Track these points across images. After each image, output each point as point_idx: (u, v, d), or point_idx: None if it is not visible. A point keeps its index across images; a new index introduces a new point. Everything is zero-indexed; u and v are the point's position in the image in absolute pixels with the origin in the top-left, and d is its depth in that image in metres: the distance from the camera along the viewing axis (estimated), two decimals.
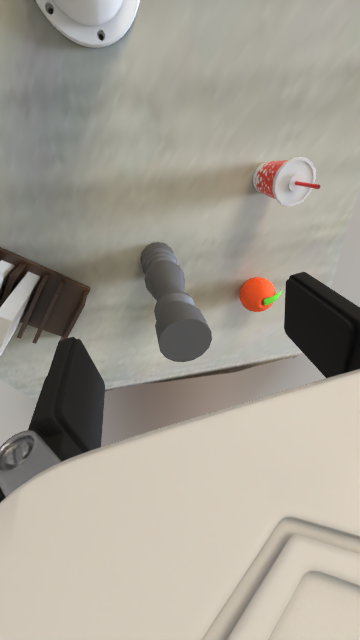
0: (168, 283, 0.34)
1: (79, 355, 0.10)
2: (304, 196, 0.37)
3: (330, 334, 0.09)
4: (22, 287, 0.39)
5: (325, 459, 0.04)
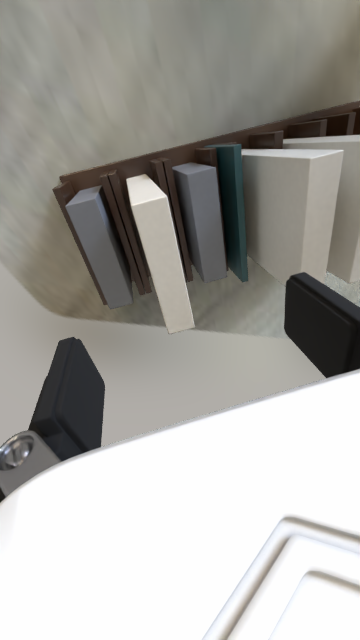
0: None
1: (79, 355, 0.10)
2: None
3: (330, 334, 0.09)
4: (300, 140, 0.21)
5: (325, 459, 0.04)
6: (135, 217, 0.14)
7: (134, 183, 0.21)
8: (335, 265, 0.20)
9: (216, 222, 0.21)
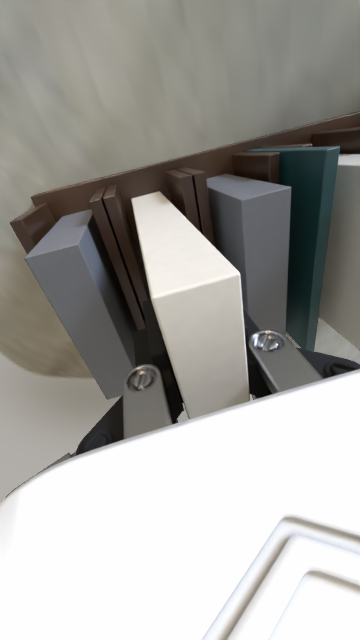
0: None
1: None
2: None
3: None
4: None
5: (325, 459, 0.04)
6: (160, 321, 0.06)
7: (145, 211, 0.13)
8: None
9: (280, 273, 0.13)
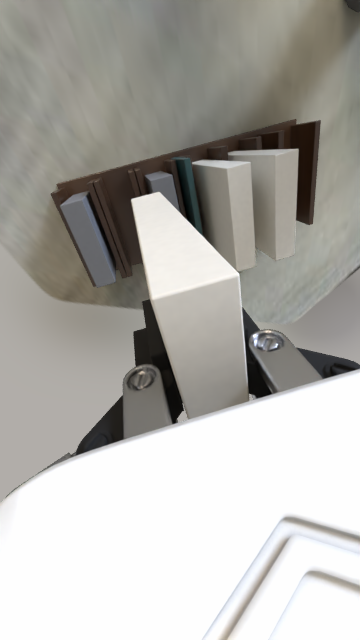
0: None
1: None
2: None
3: None
4: (241, 153, 0.27)
5: (325, 459, 0.04)
6: (160, 322, 0.06)
7: (145, 211, 0.13)
8: (267, 247, 0.26)
9: None
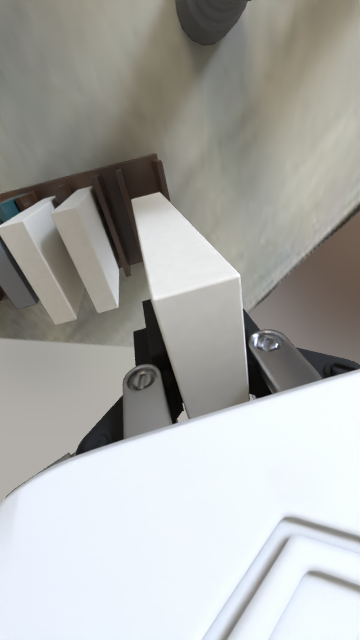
0: None
1: None
2: None
3: None
4: (76, 194, 0.26)
5: (325, 459, 0.04)
6: (161, 323, 0.06)
7: (146, 212, 0.13)
8: None
9: (5, 262, 0.25)
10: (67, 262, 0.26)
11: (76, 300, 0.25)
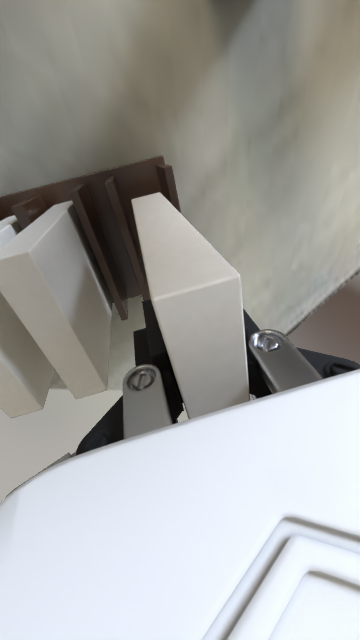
0: None
1: None
2: None
3: None
4: (46, 216, 0.18)
5: (325, 459, 0.04)
6: (161, 323, 0.06)
7: (146, 212, 0.13)
8: None
9: None
10: None
11: (46, 373, 0.17)
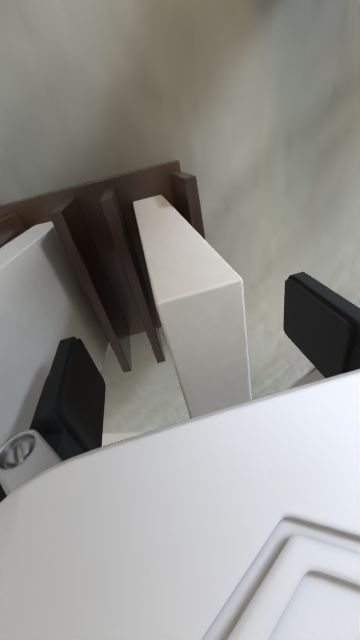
0: None
1: (80, 354, 0.10)
2: None
3: (329, 334, 0.09)
4: (3, 251, 0.12)
5: (325, 459, 0.04)
6: (165, 326, 0.06)
7: (148, 215, 0.13)
8: None
9: None
10: None
11: None
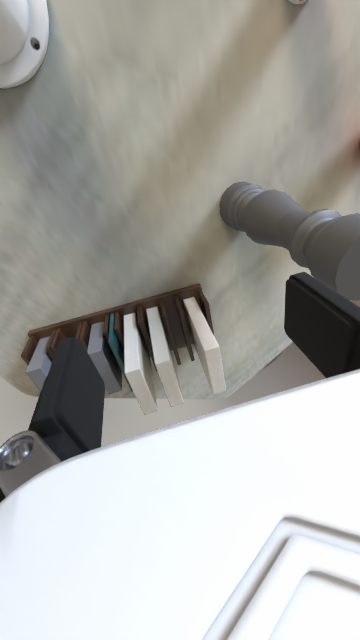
0: (282, 218, 0.26)
1: (79, 355, 0.10)
2: None
3: (330, 334, 0.09)
4: (153, 325, 0.40)
5: (325, 459, 0.04)
6: (205, 354, 0.33)
7: (193, 314, 0.40)
8: None
9: (108, 369, 0.39)
10: (147, 368, 0.40)
11: (154, 395, 0.39)
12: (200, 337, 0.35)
